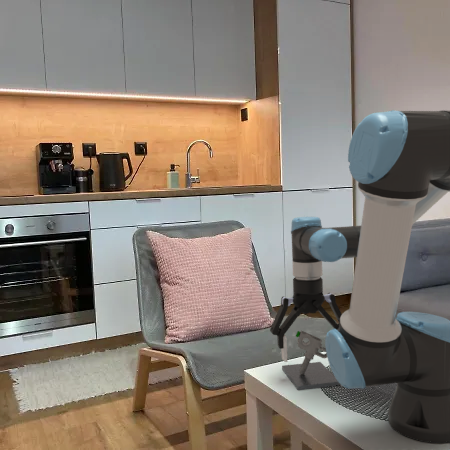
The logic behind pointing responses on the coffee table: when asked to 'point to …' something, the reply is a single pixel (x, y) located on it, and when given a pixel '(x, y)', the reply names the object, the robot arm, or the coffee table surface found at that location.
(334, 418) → the coffee table surface
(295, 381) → the plate
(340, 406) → the coffee table surface
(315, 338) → the mechanical component
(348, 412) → the coffee table surface
